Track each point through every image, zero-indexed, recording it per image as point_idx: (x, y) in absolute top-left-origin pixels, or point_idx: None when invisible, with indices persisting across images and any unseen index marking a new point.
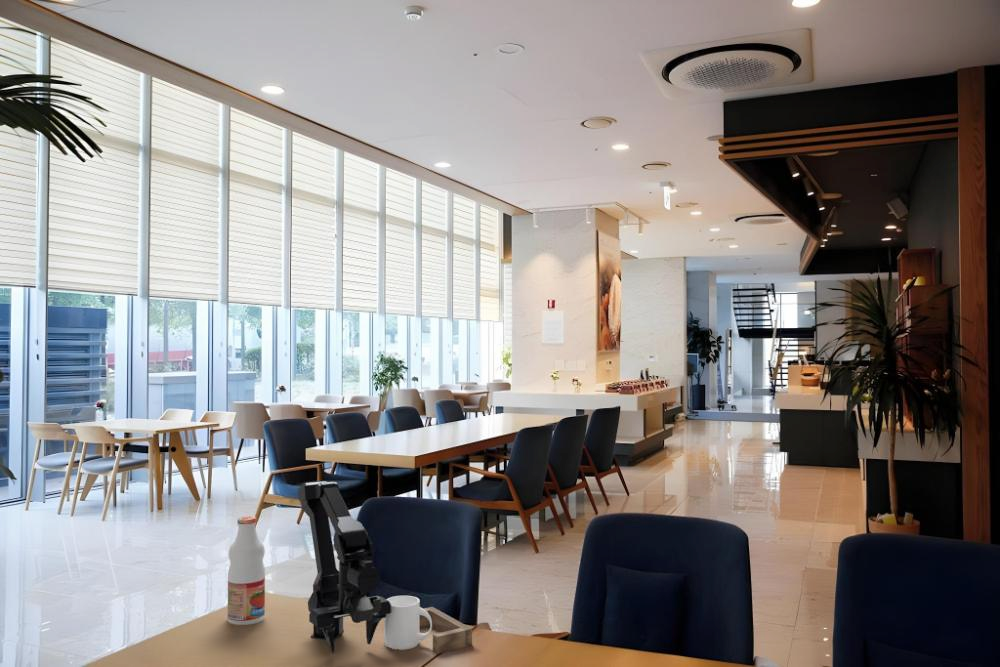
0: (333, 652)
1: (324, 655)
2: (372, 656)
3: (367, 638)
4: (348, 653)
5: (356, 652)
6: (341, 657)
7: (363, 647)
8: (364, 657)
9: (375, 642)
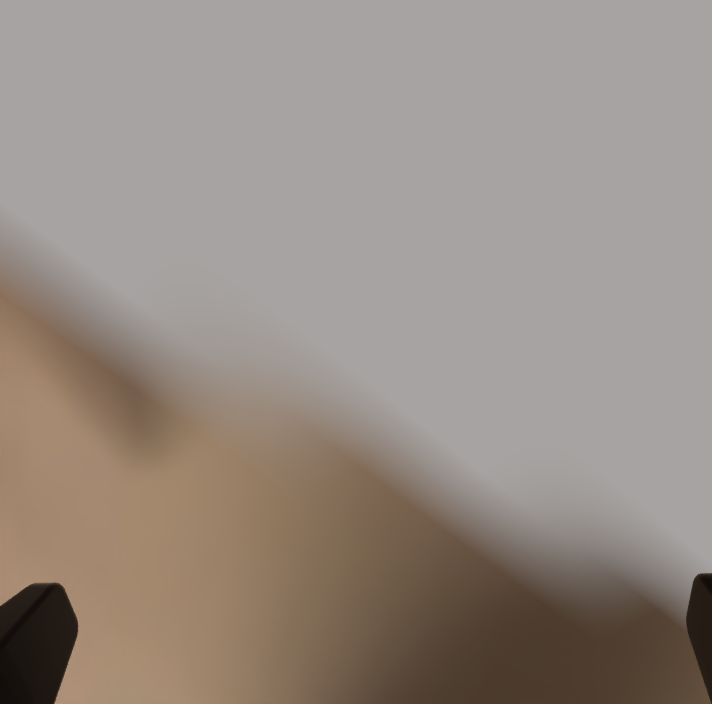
0: (700, 575)
1: (641, 666)
2: (87, 378)
3: (33, 695)
4: (363, 594)
5: (263, 576)
6: (489, 535)
7: (152, 649)
8: (203, 399)
9: None
